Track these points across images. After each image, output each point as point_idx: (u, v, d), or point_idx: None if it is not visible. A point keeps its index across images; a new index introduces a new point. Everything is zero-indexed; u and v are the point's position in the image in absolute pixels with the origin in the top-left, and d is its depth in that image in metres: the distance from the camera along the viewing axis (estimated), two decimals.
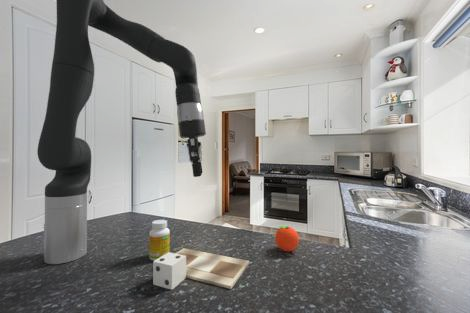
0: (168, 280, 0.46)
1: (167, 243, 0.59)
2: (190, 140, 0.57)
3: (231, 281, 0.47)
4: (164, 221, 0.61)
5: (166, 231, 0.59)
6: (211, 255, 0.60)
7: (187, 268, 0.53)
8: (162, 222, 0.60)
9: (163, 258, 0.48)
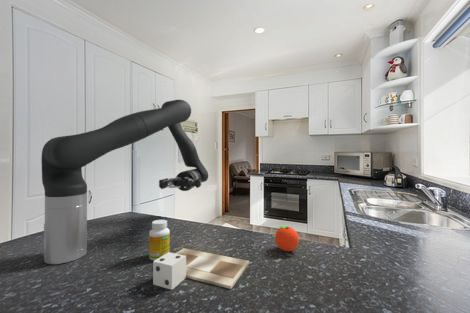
0: (168, 280, 0.46)
1: (167, 243, 0.59)
2: None
3: (231, 281, 0.47)
4: (164, 221, 0.61)
5: (166, 231, 0.59)
6: (211, 255, 0.60)
7: (187, 268, 0.53)
8: (162, 222, 0.60)
9: (163, 258, 0.48)
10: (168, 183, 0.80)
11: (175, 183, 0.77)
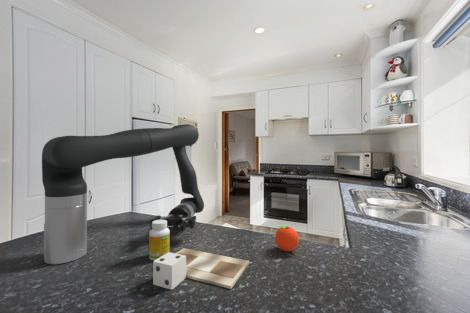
0: (168, 280, 0.46)
1: (167, 243, 0.59)
2: None
3: (231, 281, 0.47)
4: (164, 221, 0.61)
5: (166, 231, 0.59)
6: (211, 255, 0.60)
7: (187, 268, 0.53)
8: (162, 222, 0.60)
9: (163, 258, 0.48)
10: None
11: (168, 222, 0.72)
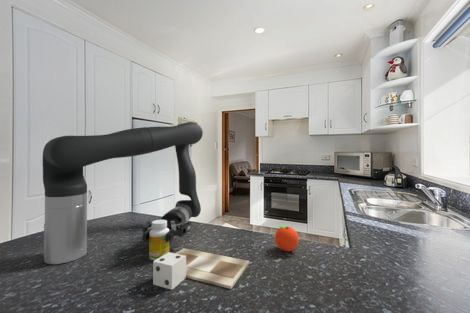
0: (168, 280, 0.46)
1: (167, 243, 0.59)
2: (189, 225, 0.67)
3: (231, 281, 0.47)
4: (164, 221, 0.61)
5: (166, 231, 0.59)
6: (211, 255, 0.60)
7: (187, 268, 0.53)
8: (162, 222, 0.60)
9: (163, 258, 0.48)
10: None
11: None
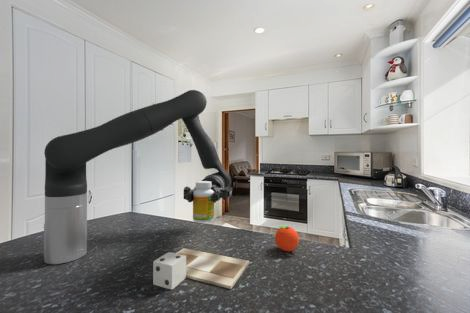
0: (168, 280, 0.46)
1: (213, 205, 0.54)
2: (231, 190, 0.62)
3: (231, 281, 0.47)
4: (208, 181, 0.56)
5: (212, 192, 0.54)
6: (211, 255, 0.60)
7: (187, 268, 0.53)
8: (206, 182, 0.55)
9: (163, 258, 0.48)
10: None
11: None
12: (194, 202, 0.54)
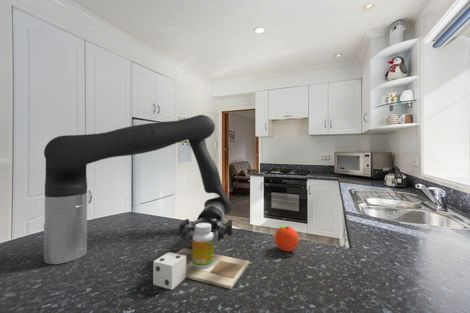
0: (168, 280, 0.46)
1: (212, 248, 0.54)
2: (231, 222, 0.63)
3: (231, 281, 0.47)
4: (208, 224, 0.55)
5: (212, 236, 0.54)
6: None
7: (187, 268, 0.53)
8: (206, 225, 0.55)
9: (163, 258, 0.48)
10: None
11: None
12: (193, 247, 0.54)
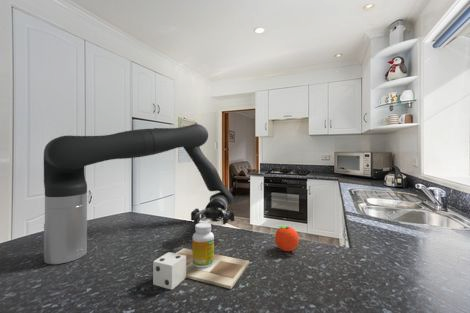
0: (168, 280, 0.46)
1: (212, 248, 0.54)
2: None
3: (231, 281, 0.47)
4: (208, 224, 0.55)
5: (212, 236, 0.54)
6: None
7: (187, 268, 0.53)
8: (206, 225, 0.55)
9: (163, 258, 0.48)
10: None
11: (208, 215, 0.72)
12: (194, 247, 0.54)
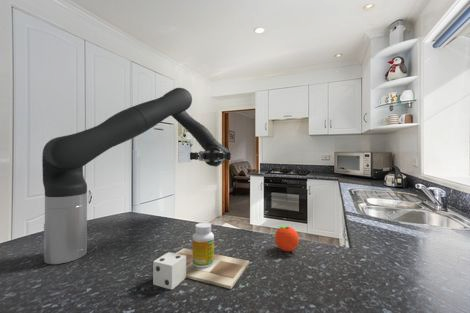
0: (168, 280, 0.46)
1: (212, 248, 0.54)
2: None
3: (231, 281, 0.47)
4: (208, 224, 0.56)
5: (212, 236, 0.54)
6: None
7: (187, 268, 0.53)
8: (206, 225, 0.55)
9: (163, 258, 0.48)
10: (197, 157, 0.80)
11: (205, 156, 0.77)
12: (194, 246, 0.54)
